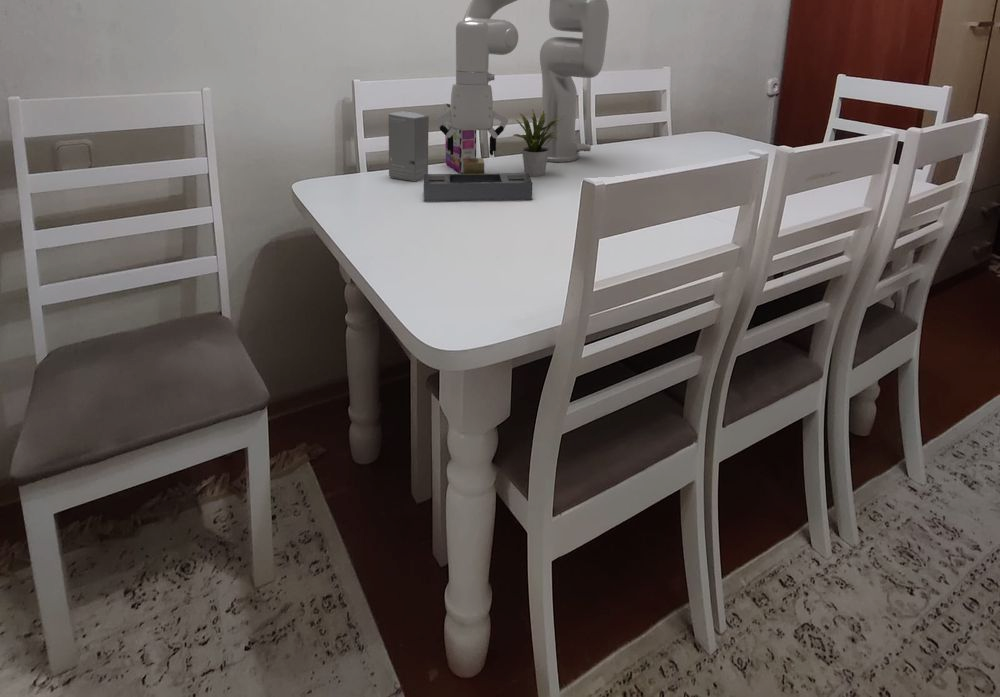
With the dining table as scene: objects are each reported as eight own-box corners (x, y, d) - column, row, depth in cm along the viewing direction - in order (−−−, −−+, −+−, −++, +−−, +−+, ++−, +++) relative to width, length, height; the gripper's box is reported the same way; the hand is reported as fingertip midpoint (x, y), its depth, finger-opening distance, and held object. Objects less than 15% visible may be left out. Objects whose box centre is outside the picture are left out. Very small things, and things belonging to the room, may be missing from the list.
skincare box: (388, 178, 181) (384, 114, 174) (404, 172, 187) (401, 109, 179) (416, 182, 178) (413, 117, 170) (431, 176, 183) (429, 112, 176)
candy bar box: (477, 172, 187) (477, 107, 180) (460, 174, 186) (459, 108, 178) (462, 162, 196) (461, 100, 189) (445, 164, 194) (443, 102, 187)
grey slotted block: (527, 189, 173) (528, 172, 171) (532, 199, 165) (532, 181, 163) (424, 190, 171) (424, 173, 169) (424, 201, 163) (423, 183, 161)
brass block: (483, 182, 179) (483, 157, 176) (484, 187, 174) (484, 162, 171) (463, 182, 178) (462, 157, 175) (464, 187, 174) (463, 162, 171)
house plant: (565, 182, 179) (568, 115, 171) (510, 181, 179) (511, 114, 172) (562, 168, 192) (565, 105, 184) (510, 167, 192) (511, 104, 184)
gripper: (507, 78, 169) (505, 151, 176) (434, 76, 167) (436, 150, 175) (510, 81, 162) (508, 157, 170) (434, 80, 160) (435, 156, 168)
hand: (471, 153), depth 172 cm, fingers open, 9 cm apart
